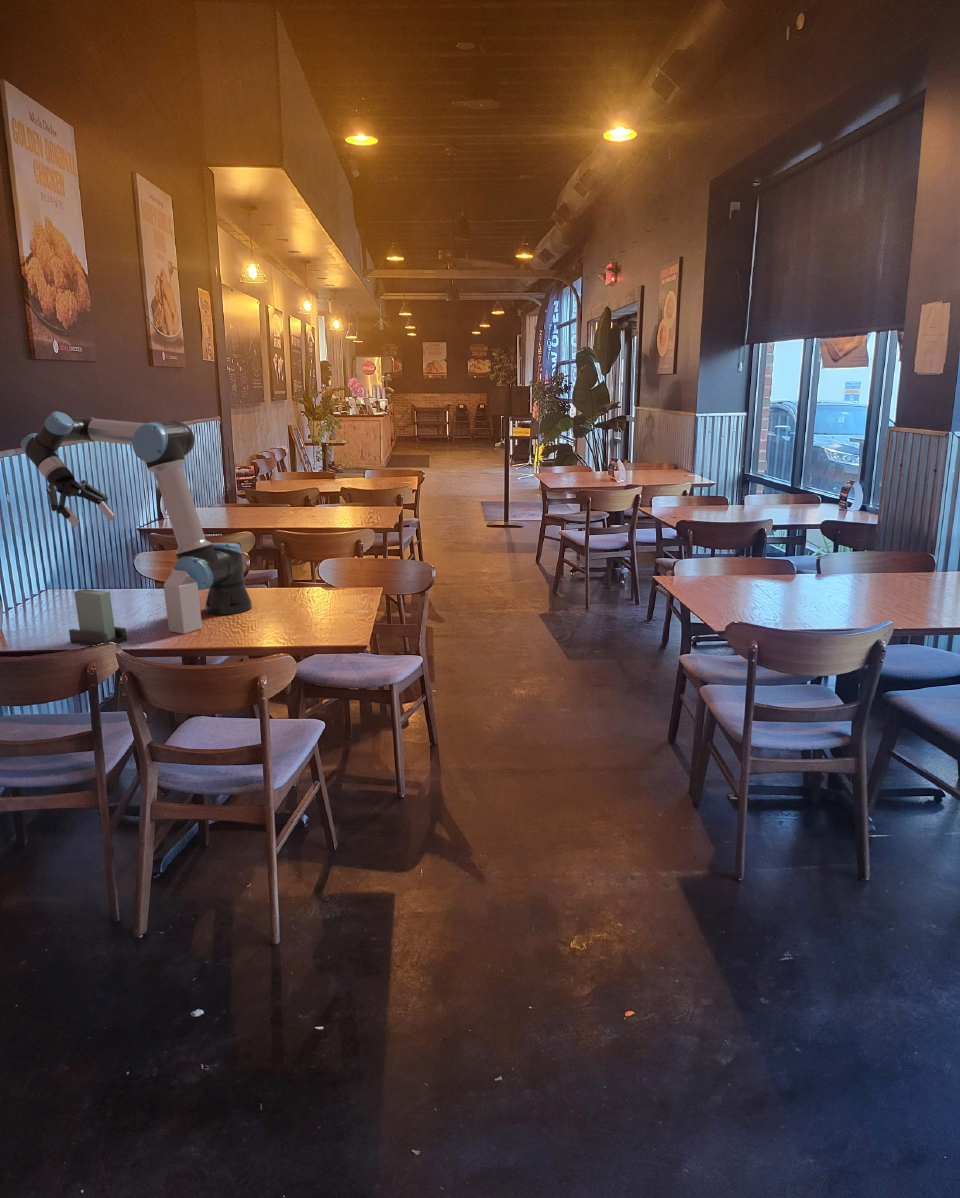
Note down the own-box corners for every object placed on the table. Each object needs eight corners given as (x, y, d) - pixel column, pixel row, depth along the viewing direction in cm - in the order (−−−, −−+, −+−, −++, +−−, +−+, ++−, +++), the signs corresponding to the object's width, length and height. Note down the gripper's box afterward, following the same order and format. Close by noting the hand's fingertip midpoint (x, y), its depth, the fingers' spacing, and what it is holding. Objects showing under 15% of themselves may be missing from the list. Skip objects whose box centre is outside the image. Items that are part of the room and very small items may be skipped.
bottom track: (127, 640, 255) (125, 628, 254) (105, 648, 249) (103, 635, 248) (93, 635, 262) (91, 623, 261) (70, 642, 255) (68, 629, 254)
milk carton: (184, 634, 261) (177, 574, 256) (168, 631, 264) (161, 572, 260) (202, 628, 266) (196, 569, 262) (187, 626, 270) (180, 567, 266)
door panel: (115, 637, 254) (109, 591, 251) (106, 640, 251) (99, 594, 248) (90, 633, 259) (84, 589, 256) (80, 636, 256) (74, 591, 253)
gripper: (85, 477, 290) (121, 523, 287) (17, 485, 269) (56, 535, 266) (93, 462, 287) (130, 508, 284) (26, 469, 265) (65, 518, 262)
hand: (94, 521), depth 275 cm, fingers open, 13 cm apart
